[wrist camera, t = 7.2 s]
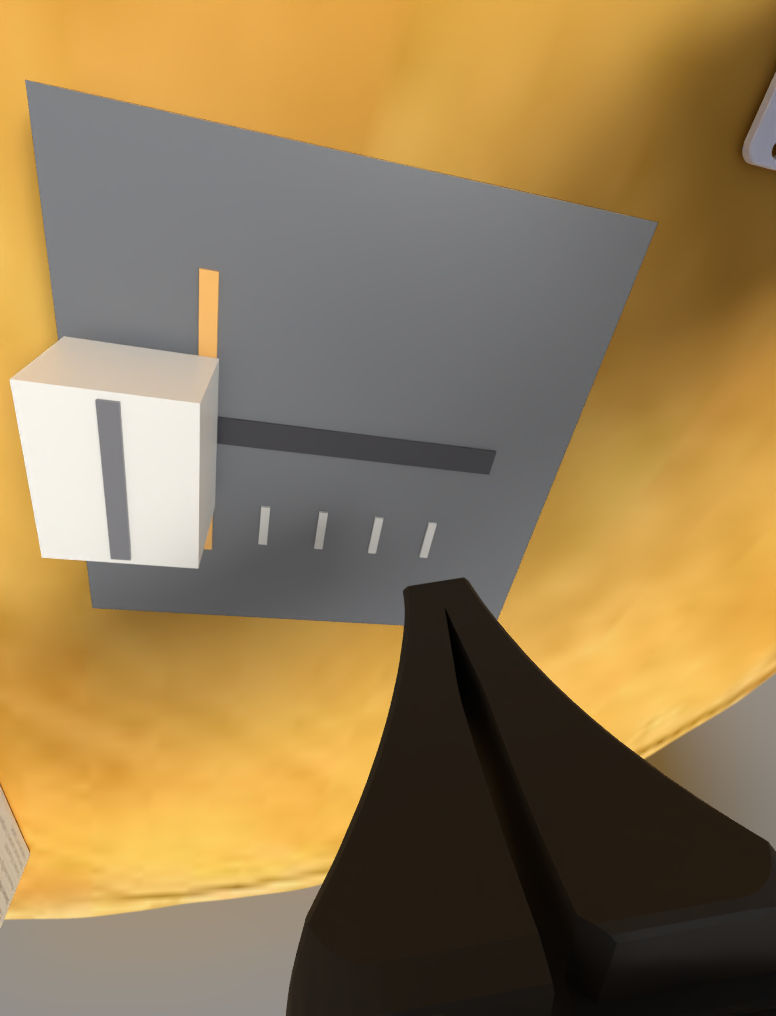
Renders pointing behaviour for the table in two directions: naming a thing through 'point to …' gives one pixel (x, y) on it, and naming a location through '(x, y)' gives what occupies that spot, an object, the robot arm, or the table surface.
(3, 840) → the supplement box
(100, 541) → the fader knob
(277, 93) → the table surface
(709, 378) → the table surface
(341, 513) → the slide fader panel
